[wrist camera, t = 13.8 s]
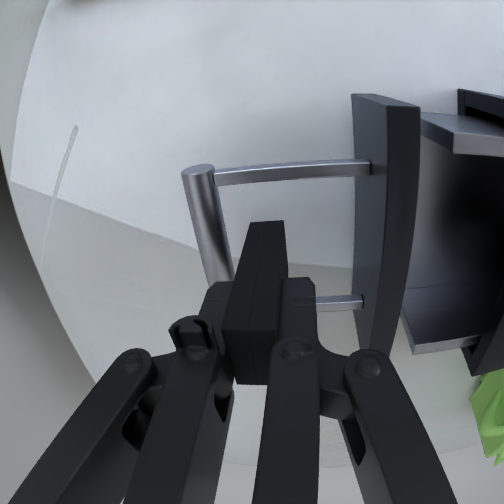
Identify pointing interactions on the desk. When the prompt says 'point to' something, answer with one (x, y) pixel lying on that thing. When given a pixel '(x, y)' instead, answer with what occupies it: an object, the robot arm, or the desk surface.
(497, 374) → the teapot
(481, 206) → the drawer
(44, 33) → the desk surface
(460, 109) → the black box
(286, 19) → the desk surface
